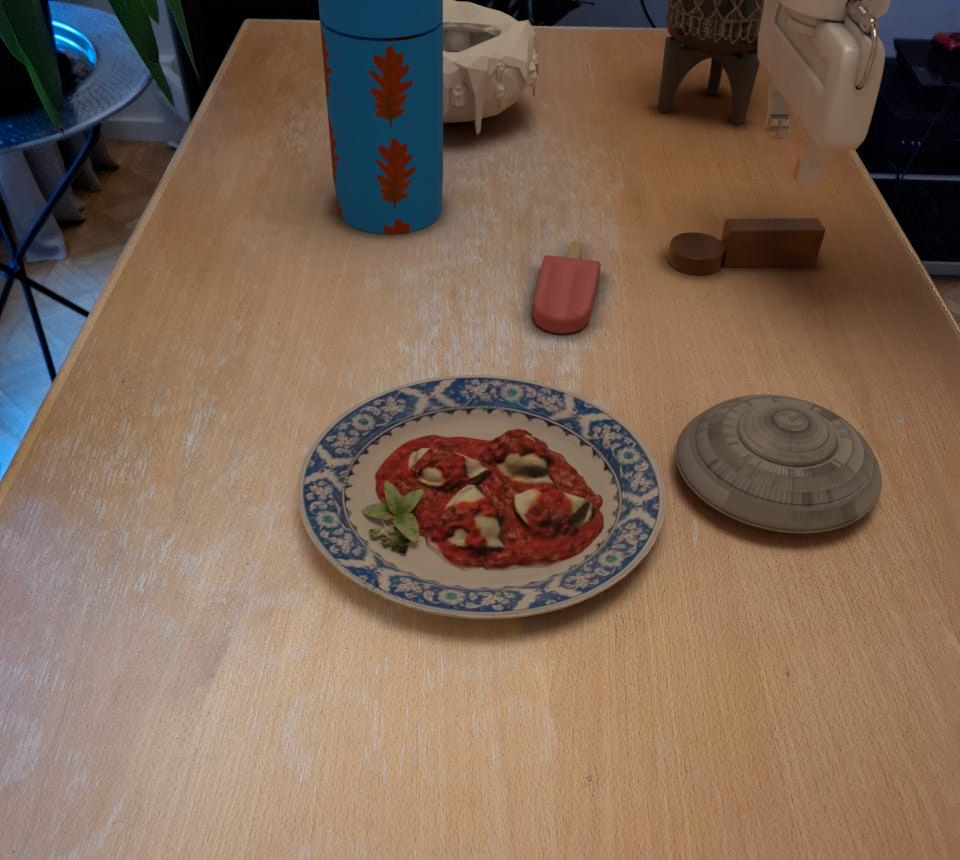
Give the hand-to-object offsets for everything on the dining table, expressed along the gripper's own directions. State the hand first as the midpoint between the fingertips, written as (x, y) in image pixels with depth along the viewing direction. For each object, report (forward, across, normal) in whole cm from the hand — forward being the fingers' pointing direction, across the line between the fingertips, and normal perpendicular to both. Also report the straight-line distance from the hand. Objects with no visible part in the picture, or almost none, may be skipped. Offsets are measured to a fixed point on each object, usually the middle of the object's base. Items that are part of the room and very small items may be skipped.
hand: (788, 158), depth 88 cm
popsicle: (+10, -5, +20) cm, 23 cm away
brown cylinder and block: (+10, 0, +2) cm, 10 cm away
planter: (+10, +36, -2) cm, 37 cm away
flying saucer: (+10, -32, +8) cm, 34 cm away
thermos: (+10, +11, +36) cm, 39 cm away
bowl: (+10, +34, +28) cm, 46 cm away
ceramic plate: (+10, -34, +30) cm, 46 cm away
